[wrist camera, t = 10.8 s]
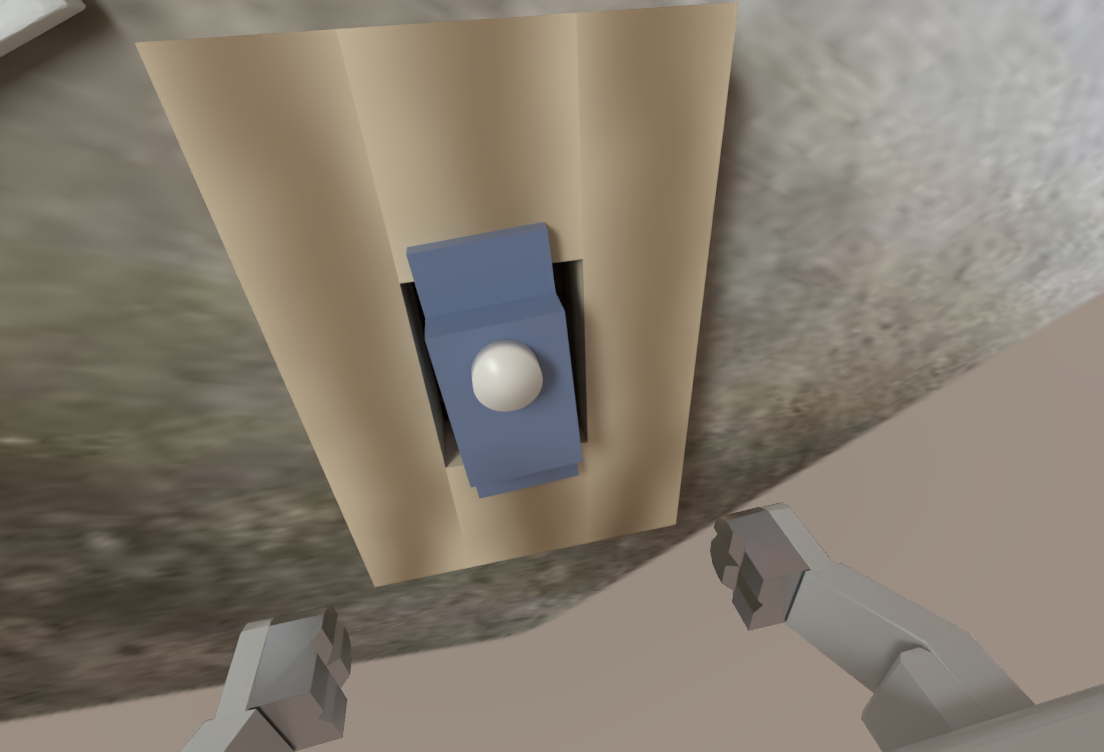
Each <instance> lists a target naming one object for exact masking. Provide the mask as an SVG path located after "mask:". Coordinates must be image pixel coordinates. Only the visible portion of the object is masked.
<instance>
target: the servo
mask: <svg viewBox="0 0 1104 752" xmlns="http://www.w3.org/2000/svg"><path fill="white" fill-rule="evenodd" d="M406 256H407V259H408V263H409V266H410V269H411V272H412V276H413V279H414V282H415V286H416V289H417V292H418V296H419V299H420V302H421V306H422V309H423V312H424V316H425V342H426V345H427V348H428V351H429V355H430V358H431V361H432V364H433V368H434V371H435V374H436V377H437V380H438V384H439V387H440V390H441V393H442V397H443V400H444V403H445V406H446V409H447V413H448V416H449V419H450V422H451V426H452V429H453V432H454V435H455V439H456V442H457V445H458V448H459V451H460V455H461V458H462V461H463V464H464V468H465V471H466V474H467V477H468V480H469V484H470V487H476V489H477V492H478V495H479V499H480V498H485V497H489V496H493V495H497V494H502V493H506V492H510V491H514V490H519V489H523V488H527V487H531V486H535V485H540V484H544V483H548V482H552V481H557V480H561V479H565V478H569V477H574V476H578V475H579V472H578V464H577V463H579V462H583V460H582V452H581V443H580V435H579V427H578V418H577V410H576V401H575V393H574V385H573V376H572V368H571V359H570V351H569V342H568V334H567V326H566V317H565V310H564V308H563V306H562V304H561V302H560V300H559V298H558V296H557V294H556V292H555V284H554V276H553V269H552V261H551V253H550V245H549V237H548V229H547V227H546V225H545V224H544V222H541V223H535V224H530V225H525V226H519V227H514V228H508V229H503V230H498V231H492V232H487V233H481V234H476V235H471V236H465V237H460V238H454V239H449V240H444V241H438V242H433V243H427V244H422V245H417V246H411V247H407V251H406Z"/></svg>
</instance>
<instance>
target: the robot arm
mask: <svg viewBox="0 0 1104 752" xmlns="http://www.w3.org/2000/svg"><path fill="white" fill-rule="evenodd" d="M714 528H715V530H716V532H717V534H718V535H717V536H716V537H715V538H714V539H713V540H712V542H711V550H710V552H711V557H712V563H713V566H714V568H715V571H716V573H717V575H718V577H719V579H720V581H721V582H722V583H723V584H724V585H726V586H727V587H729V588H730V589H732V590H733V591H734V592H733V600H732V602H733V604H734V606H735V608H736V609H737V611H738V613H739V615H740V616H741V618H742V620H743V622H744V623H745V625H746V627H747V629H748V630H753V629H758V628H762V627H766V626H771V625H775V624H779V623H784V622H786V625H787V626H788V627H790V628H791V629H792V630H793V631H795V632H796V633H797V634H799V635H800V636H802V637H803V638H804V639H805V640H807V641H808V642H809V643H810V644H811V645H813V646H814V647H815V648H817V649H818V650H819V651H820V652H822V653H823V654H824V655H826V656H827V657H828V658H830V659H831V660H832V661H833V662H835V663H836V664H837V665H838V666H840V667H841V668H842V669H844V670H845V671H846V672H847V673H849V674H850V675H851V676H853V677H854V678H855V679H856V680H858V681H859V682H860V683H862V684H863V685H864V686H865V687H867V688H868V689H869V690H871V691H872V692H873V693H874V694H873V696H872V697H871V699H870V700H869V702H868V703H867V705H866V707H865V708H864V710H863V713H862V717H861V719H862V721H863V722H864V724H865V725H866V727H867V729H868V730H869V732H870V733H871V735H872V736H873V738H874V740H875V741H876V742H877V744H878V746H879V747H880V749H881V750H882V752H1104V684H1101V685H1098V686H1095V687H1091V688H1088V689H1085V690H1082V691H1078V692H1075V693H1072V694H1069V695H1066V696H1062V697H1059V698H1056V699H1053V700H1050V701H1047V702H1043V703H1040V704H1037V705H1035V704H1034V703H1033V702H1032V700H1031V699H1030V698H1029V697H1028V696H1027V695H1026V694H1025V693H1024V692H1023V691H1022V690H1021V689H1020V688H1019V686H1018V685H1017V684H1016V683H1015V682H1014V681H1013V680H1012V679H1011V678H1010V677H1009V676H1008V675H1007V673H1006V672H1005V671H1004V670H1003V669H1002V668H1001V667H1000V666H999V665H998V664H997V663H996V662H995V661H994V659H993V658H992V657H991V656H990V655H989V654H988V653H987V652H986V651H985V650H984V649H983V647H982V646H981V645H980V644H979V643H978V642H977V641H976V640H975V639H974V638H973V637H972V636H971V634H970V633H969V632H967V631H965V630H964V629H962V628H960V627H958V626H956V625H955V624H953V623H951V622H949V621H947V620H945V619H944V618H942V617H940V616H938V615H936V614H934V613H933V612H931V611H929V610H927V609H925V608H923V607H921V606H920V605H918V604H916V603H914V602H912V601H911V600H909V599H907V598H905V597H903V596H901V595H900V594H898V593H896V592H894V591H892V590H890V589H889V588H887V587H885V586H883V585H881V584H879V583H878V582H876V581H874V580H872V579H870V578H869V577H867V576H865V575H863V574H861V573H859V572H857V571H856V570H854V569H851V568H850V567H848V566H847V565H845V564H843V563H836V564H835V563H834V562H833V561H832V560H831V559H830V558H829V556H828V555H827V553H826V552H825V551H824V550H823V549H822V548H821V546H820V545H819V544H818V542H817V541H816V540H815V539H814V537H813V536H812V535H811V534H810V532H809V531H808V530H807V529H806V528H805V526H804V525H803V524H802V522H801V521H800V520H799V519H798V517H797V516H796V515H795V514H794V512H793V511H792V510H791V509H790V507H789V506H788V505H786V504H784V503H776V504H773V505H768V506H764V507H757V508H753V509H749V510H745V511H741V512H737V513H732V514H728V515H724V516H720V517H718V518H717V519H716V521H715V526H714ZM336 621H337V613H336V611H335V609H334V608H333V606H332V605H330V606H325V607H320V608H316V609H311V610H307V611H302V612H297V613H293V614H288V615H283V616H279V617H273V618H268V619H264V620H259V621H255V622H251V623H247V624H246V626H245V627H244V629H243V631H242V632H241V634H240V637H239V640H238V643H237V646H236V650H235V653H234V656H233V659H232V662H231V666H230V669H229V672H228V675H227V679H226V682H225V685H224V688H223V692H222V695H221V698H220V702H219V705H218V708H217V711H216V715H215V718H214V719H211V720H208V721H205V722H204V723H203V725H202V726H201V727H200V728H199V729H198V731H197V732H196V733H195V734H194V736H193V737H192V738H191V739H190V740H189V741H188V743H187V744H186V745H185V746H184V748H183V749H182V750H181V751H180V752H294V751H298V750H301V749H305V748H308V747H311V746H315V745H318V744H322V743H325V742H329V741H332V740H335V739H339V738H342V737H343V730H344V721H345V713H346V705H347V698H346V697H345V695H344V693H343V692H342V690H341V687H342V686H343V684H344V683H345V681H346V680H347V678H348V677H349V675H350V668H351V643H350V639H349V636H348V633H347V631H346V629H345V627H344V626H342V625H339V624H337V623H336Z"/></svg>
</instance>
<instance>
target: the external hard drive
mask: <svg viewBox="0 0 1104 752" xmlns="http://www.w3.org/2000/svg"><path fill="white" fill-rule="evenodd" d="M85 8H86V5H85V4H84V3H83V2H82V0H0V57H2V56H4V55H5V54H7V53H9V52H11V51H12V50H14V49H16V48H18V47H19V46H21V45H23V44H25V43H26V42H28V41H30V40H32V39H34V38H35V37H37V36H39V35H41V34H42V33H44V32H46V31H48V30H49V29H51V28H53V27H55V26H56V25H58V24H60V23H62V22H63V21H65V20H67V19H69V18H70V17H72V16H74V15H76V14H77V13H79V12H81V11H83V10H85Z"/></svg>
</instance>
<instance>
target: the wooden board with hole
mask: <svg viewBox="0 0 1104 752" xmlns="http://www.w3.org/2000/svg"><path fill="white" fill-rule="evenodd" d="M738 4H739V2H732V3H718V4H703V5H688V6H673V7H658V8H643V9H629V10H614V11H599V12H584V13H569V14H554V15H539V16H525V17H510V18H495V19H480V20H465V21H450V22H435V23H421V24H406V25H391V26H376V27H361V28H346V29H332V30H317V31H302V32H287V33H272V34H257V35H242V36H228V37H213V38H198V39H183V40H168V41H153V42H138V43H135V44H136V47H137V49H138V51H139V53H140V56H141V58H142V60H143V62H144V65H145V67H146V69H147V71H148V74H149V76H150V78H151V81H152V83H153V85H154V87H155V90H156V92H157V94H158V96H159V99H160V101H161V103H162V105H163V108H164V110H165V112H166V115H167V117H168V119H169V121H170V124H171V126H172V128H173V130H174V133H175V135H176V137H177V139H178V142H179V144H180V146H181V149H182V151H183V153H184V155H185V158H186V160H187V162H188V164H189V167H190V169H191V171H192V174H193V176H194V178H195V180H196V183H197V185H198V187H199V189H200V192H201V194H202V196H203V198H204V201H205V203H206V205H207V208H208V210H209V212H210V214H211V217H212V219H213V221H214V223H215V226H216V228H217V230H218V232H219V235H220V237H221V239H222V242H223V244H224V246H225V248H226V251H227V253H228V255H229V257H230V260H231V262H232V264H233V266H234V269H235V271H236V273H237V276H238V278H239V280H240V282H241V285H242V287H243V289H244V291H245V294H246V296H247V298H248V300H249V303H250V305H251V307H252V310H253V312H254V314H255V316H256V319H257V321H258V323H259V325H260V328H261V330H262V332H263V334H264V337H265V339H266V341H267V344H268V346H269V348H270V350H271V353H272V355H273V357H274V359H275V362H276V364H277V366H278V368H279V371H280V373H281V375H282V378H283V380H284V382H285V384H286V387H287V389H288V391H289V393H290V396H291V398H292V400H293V402H294V405H295V407H296V409H297V412H298V414H299V416H300V418H301V421H302V423H303V425H304V427H305V430H306V432H307V434H308V436H309V439H310V441H311V443H312V446H313V448H314V450H315V452H316V455H317V457H318V459H319V461H320V464H321V466H322V468H323V470H324V473H325V475H326V477H327V480H328V482H329V484H330V486H331V489H332V491H333V493H334V495H335V498H336V500H337V502H338V504H339V507H340V509H341V511H342V514H343V516H344V518H345V520H346V523H347V525H348V527H349V529H350V532H351V534H352V536H353V538H354V541H355V543H356V545H357V548H358V550H359V552H360V554H361V557H362V559H363V561H364V563H365V566H366V568H367V570H368V572H369V575H370V577H371V579H372V582H373V584H374V586H375V587H378V586H383V585H388V584H393V583H398V582H402V581H407V580H412V579H417V578H422V577H426V576H431V575H436V574H441V573H446V572H450V571H455V570H460V569H465V568H470V567H474V566H479V565H484V564H489V563H494V562H498V561H503V560H508V559H513V558H518V557H522V556H527V555H532V554H537V553H542V552H546V551H551V550H556V549H561V548H566V547H570V546H575V545H580V544H585V543H590V542H594V541H599V540H604V539H609V538H614V537H618V536H623V535H628V534H633V533H638V532H642V531H647V530H652V529H657V528H662V527H666V526H671V525H676V519H677V511H678V502H679V494H680V486H681V477H682V469H683V461H684V452H685V444H686V436H687V427H688V419H689V411H690V403H691V394H692V386H693V378H694V369H695V361H696V353H697V344H698V336H699V328H700V319H701V311H702V303H703V294H704V286H705V278H706V270H707V261H708V253H709V245H710V236H711V228H712V220H713V211H714V203H715V195H716V186H717V178H718V170H719V161H720V153H721V145H722V137H723V128H724V120H725V112H726V103H727V95H728V87H729V78H730V70H731V62H732V53H733V45H734V37H735V29H736V20H737V12H738ZM541 222H544V224H545V225H546V227H547V229H548V237H549V245H550V253H551V261H552V263H557V262H564V272H565V292H566V312H567V333H568V342H569V351H570V359H571V368H572V376H573V385H574V393H575V401H576V410H577V418H578V427H579V435H580V443H581V452H582V460H583V462H579V463H577V464H578V472H579V475H578V476H574V477H569V478H565V479H561V480H557V481H552V482H548V483H544V484H540V485H535V486H531V487H527V488H523V489H519V490H514V491H510V492H506V493H502V494H497V495H493V496H489V497H485V498H480V499H479V495H478V492H477V489H476V487H470V484H469V480H468V477H467V474H466V471H465V468H464V464H463V461H462V458H461V455H460V451H459V448H458V445H457V442H456V439H455V435H454V432H453V429H452V426H451V422H450V419H447V420H444V417H443V413H442V409H441V405H440V400H439V396H438V392H437V388H436V383H435V379H434V375H433V370H432V366H431V362H430V358H429V353H428V349H427V345H426V342H425V336H424V332H423V328H422V323H421V319H420V315H419V311H418V306H417V302H416V298H415V294H414V289H413V285H412V282H414V279H413V276H412V272H411V269H410V266H409V263H408V259H407V256H406V251H407V247H411V246H417V245H422V244H427V243H433V242H438V241H444V240H449V239H454V238H460V237H465V236H471V235H476V234H481V233H487V232H492V231H498V230H503V229H508V228H514V227H519V226H525V225H530V224H535V223H541Z"/></svg>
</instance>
